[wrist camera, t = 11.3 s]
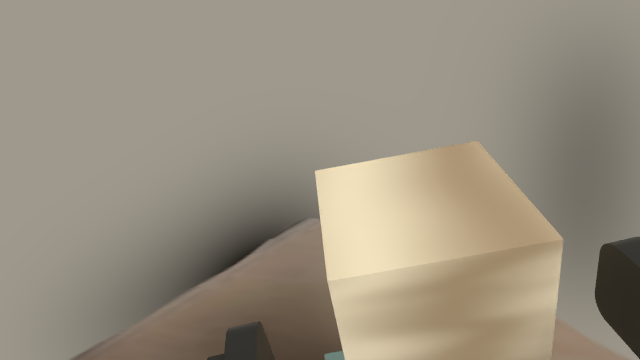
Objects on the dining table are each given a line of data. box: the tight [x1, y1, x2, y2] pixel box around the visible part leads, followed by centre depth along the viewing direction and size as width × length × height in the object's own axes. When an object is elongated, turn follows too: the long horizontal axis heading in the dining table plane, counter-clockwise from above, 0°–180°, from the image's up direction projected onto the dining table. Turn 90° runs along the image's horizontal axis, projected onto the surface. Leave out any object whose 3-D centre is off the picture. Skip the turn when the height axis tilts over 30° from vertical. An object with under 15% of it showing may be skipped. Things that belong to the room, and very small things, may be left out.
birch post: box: [315, 141, 563, 360], centre depth 14 cm, size 5×5×10 cm
